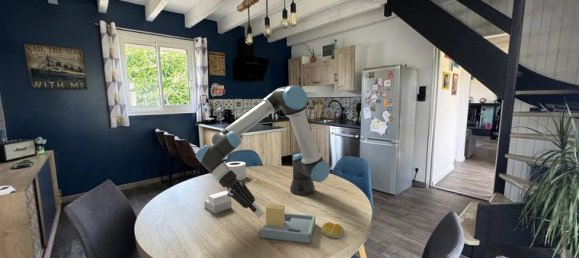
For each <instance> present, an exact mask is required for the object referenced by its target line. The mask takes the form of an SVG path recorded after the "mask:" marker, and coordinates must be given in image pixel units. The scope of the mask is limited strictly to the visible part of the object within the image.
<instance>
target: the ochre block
mask: <svg viewBox="0 0 579 258" xmlns="http://www.w3.org/2000/svg"><path fill="white" fill-rule="evenodd" d="M285 213H286V211H285V205H284V204H275V203H274V204H273V203H268V205H267V206H266V207H265V224H266V225H272V226H281V227H282V226H283V224H284V223H285Z"/></svg>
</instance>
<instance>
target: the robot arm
mask: <svg viewBox="0 0 579 258" xmlns="http://www.w3.org/2000/svg"><path fill="white" fill-rule="evenodd" d="M307 101H308V96H307V93H306V91H305V90H304V88H302V87H301V86H298V85H286V86H281V87H278V88H276V89H274V91H272V92H271V93H269V94H268V95H267V96H266V97H264V98H263V99H262V102H260V103H259V104H257V105H256V106H255V107H253V108H252V109H250V110H249V111H247V112H246V113H244V114H243V115H242V116H240V117H239V118H238V119H236V120H235V121H234V122H232V123H231V124H229V125H227V127H225V128H223V130H221V131H220V132H215V133H214V134H213V135H212V136H211V142H212V146H210V145H209V144H205V145H204V146H202V147H200V148H199V150H197V151H196V153H195V158H196V159H197V160H198V161H199V163H200V164H202V165H201V166H203V167H204V168H205V169H206V171H208V173H210V174H211V175H212V177H213V178H214V179H215V180H216V181H218V184H219V185H220V186H221V187H222V188H226V189H227V190H228V191H227V192H228V193H227V195H228V196H230V197H231V199H233V200H234V201H236V202H237V203H238V204H239V205H241V206H242V207H243V208H244V209H248V208H249V209H250V211H252V213H254V215H255V216H256V217H257V218H258V219H260V218H261V217H262V216H264V215H265V212H264V211H263V210H262V208H261V207H260V206H259V205H258V204H257V203H256V202H255V201H256V198H255V196H254V195H253V193H252V192H251V190H250V189H249V187H248V186H247V185H246V183H245V181H244V180H241V181H239V180H237V179H236V177H237V175H236V174H235V173H234V172H233V171H232V170H230V167H229V166H228V165H227V164H226V163H227V162H225V161H224V159H225V158H227V156H228V155H230V154H231V153H232V152H233V151H234V150H236V149H237V148H238V147H239V146H241V144H242V140H241V138H240V137H241V136H242V135H244V134H245V133H246V132H247V131H249V130H250V129H251V128H253V127H254V126H255V125H257V124H258V123H259V122H261V121H263V119H265V118H267V117H268V116H269V115H270V114H275V113H276V112H277V111H278V112H279V111H280V110H283V113H284V115H285V117H287V118H288V119H289V122H290V124H291V127H292V130H293V132H294V135H295V138H296V141H297V144H298V147H299V150H300V153H296V154H294V155H292V180H291V184H290V187H289V192H290V193H291V194H294V195H297V196H308V195H309V196H310V195H313V194H314V193H315V192H316V186H315V184H314V182H317V183H322V182H325V180H326V179H328V177H329V175H330V172H331V171H330V170H331V167H330V165H329V163H328V162H327V161H325V160H324V158H323V155H322V153H320V152H318V148H317V146H316V142H315V138H314V137H313V134H312V130H311V127H310V123H309V122H308V118H307V116H306V110H307Z"/></svg>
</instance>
